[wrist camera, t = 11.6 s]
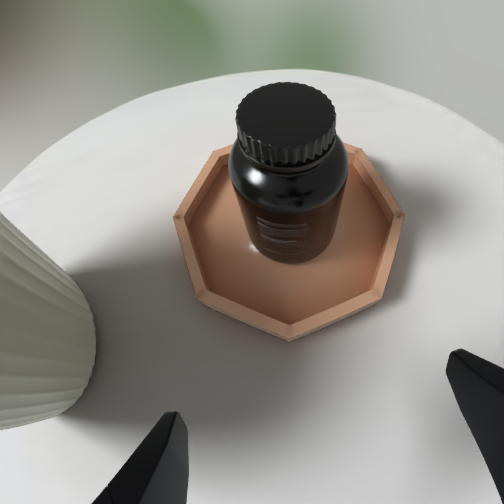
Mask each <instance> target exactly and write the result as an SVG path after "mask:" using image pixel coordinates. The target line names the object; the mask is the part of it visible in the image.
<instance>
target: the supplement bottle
mask: <svg viewBox="0 0 504 504" xmlns="http://www.w3.org/2000/svg"><path fill="white" fill-rule="evenodd" d="M235 120H236V125H237V130H238V133H237V139H236V140H235V142H234V144H233V146H232V148H231V151H230V155H229V161H228V168H229V174H230V178H231V181H232V185H233V188H234V191H235V194H236V197H237V201H238V204H239V207H240V210H241V213H242V216H243V220H244V223H245V226H246V229H247V232H248V235H249V238H250V240H251V242H252V243H253V245H254V246H255V248H256V249H257V250H258V251H259V252H260V253H261V254H262V255H264V256H265V257H267V258H269V259H271V260H273V261H275V262H279V263H283V264H299V263H304V262H307V261H310V260H312V259H314V258H315V257H317V256H319V255H320V254H321V253H322V252H323V251H324V250H325V249H326V248H327V247H328V245H329V244H330V242H331V240H332V238H333V236H334V232H335V229H336V225H337V221H338V217H339V213H340V208H341V204H342V200H343V195H344V191H345V186H346V181H347V177H348V169H349V160H348V154H347V151H346V148H345V146H344V144H343V142H342V140H341V139H340V137H339V136H338V135H337V134H336V129H335V127H336V112H335V107H334V106H333V105H332V102H331V100H330V99H328V98H327V95H325V94H323V93H322V92H321V91H320V90H317V89H315V88H314V87H311V86H307V85H306V84H299V83H291V82H284V83H282V82H278V83H275V84H268V85H266V86H261V87H260V88H258V89H255V90H253V91H252V92H251V93H249V94H247V96H246V97H245V98H243V99H242V102H241V103H240V104H239V105H238V109H237V111H236V119H235Z"/></svg>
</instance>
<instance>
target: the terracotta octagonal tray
mask: <svg viewBox="0 0 504 504" xmlns="http://www.w3.org/2000/svg"><path fill="white" fill-rule="evenodd" d="M343 144H344V146H345V148H346V151H347V154H348V160H349V169H348V177H347V181H346V186H345V191H344V195H343V200H342V204H341V208H340V213H339V217H338V221H337V225H336V229H335V232H334V236H333V238H332V240H331V242H330V244H329V245H328V247H327V248H326V249H325V250H324V251H323V252H322V253H321V254H320V255H319V256H317V257H315V258H314V259H312V260H310V261H307V262H304V263H299V264H283V263H279V262H275V261H273V260H271V259H269V258H267V257H265V256H264V255H262V254H261V253H260V252H259V251H258V250H257V249H256V248H255V246H254V245H253V243H252V242H251V240H250V238H249V235H248V232H247V229H246V226H245V223H244V220H243V216H242V213H241V210H240V207H239V204H238V201H237V197H236V194H235V191H234V188H233V185H232V181H231V178H230V174H229V168H228V161H229V155H230V151H231V148H232V146H233V144H232V145H229V146H227V147H224V148H221V149H219V150H216V151H213V153H212V154H211V156H210V157H209V159H208V160H207V162H206V164H205V165H204V167H203V168H202V170H201V172H200V173H199V175H198V176H197V178H196V180H195V181H194V183H193V185H192V186H191V188H190V189H189V191H188V193H187V194H186V196H185V198H184V199H183V201H182V203H181V205H180V206H179V208H178V210H177V211H176V213H175V215H174V216H173V219H174V223H175V226H176V230H177V233H178V237H179V240H180V244H181V247H182V251H183V254H184V257H185V261H186V264H187V267H188V271H189V274H190V277H191V280H192V284H193V287H194V290H195V293H196V296H197V297H196V298H197V299H198V300H199V301H201V302H202V303H203V304H204V305H205V306H208V307H210V308H212V309H214V310H217V311H219V312H221V313H223V314H225V315H228V316H230V317H232V318H234V319H237V320H239V321H241V322H243V323H246V324H248V325H250V326H252V327H255V328H257V329H259V330H262V331H264V332H266V333H269V334H271V335H274V336H276V337H278V338H281V339H283V340H286V341H288V342H291V341H293V340H296V339H298V338H300V337H303V336H305V335H308V334H310V333H312V332H315V331H317V330H320V329H322V328H324V327H327V326H329V325H331V324H333V323H336V322H338V321H340V320H342V319H345V318H347V317H349V316H351V315H353V314H356V313H358V312H360V311H362V310H364V309H366V308H368V307H371V306H373V305H375V304H376V303H377V302H378V301H379V300H380V299H381V298H382V295H383V292H384V289H385V286H386V282H387V279H388V276H389V272H390V269H391V265H392V262H393V258H394V255H395V251H396V247H397V244H398V240H399V236H400V232H401V228H402V224H403V220H404V216H405V214H404V213H403V211H402V210H401V208H400V206H399V205H398V203H397V202H396V200H395V198H394V197H393V195H392V193H391V192H390V190H389V189H388V187H387V186H386V184H385V183H384V181H383V179H382V178H381V176H380V175H379V173H378V172H377V170H376V169H375V167H374V166H373V165H372V163H371V162H370V160H369V159H368V157H367V156H366V154H365V153H364V152H363V150H362V149H360V148H357V147H354V146H351V145H348V144H345V143H343Z"/></svg>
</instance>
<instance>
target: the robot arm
mask: <svg viewBox="0 0 504 504" xmlns="http://www.w3.org/2000/svg"><path fill="white" fill-rule="evenodd" d="M446 375H447V378H448V380H449V382H450V385H451V387H452V390H453V392H454V395H455V398H456V400H457V403H458V405H459V408H460V410H461V412H462V414H463V416H464V418H465V420H466V422H467V424H468V426H469V428H470V430H471V432H472V434H473V436H474V438H475V440H476V442H477V445H478V447H479V449H480V451H481V453H482V455H483V457H484V460H485V462H486V464H487V466H488V469H489V471H490V473H491V476H492V478H493V480H494V483H495V485H496V488H497V490H498V492H499V495H500V497H501V500H502V503H503V504H504V369H503V368H501V367H499V366H497V365H495V364H493V363H491V362H489V361H487V360H485V359H483V358H480V357H478V356H476V355H474V354H472V353H470V352H468V351H466V350H464V349H457V350H455V351H452V352H451V353H450V355H449V359H448V363H447V367H446ZM188 478H189V458H188V431H187V427H186V425H185V423H184V421H183V419H182V417H181V416H180V414H179V413H178V412H176V411H175V412H166V413H164V414H163V416H162V417H161V418H160V420H159V421H158V422H157V423H156V425H155V426H154V427H153V429H152V430H151V431H150V432H149V434H148V435H147V436H146V438H145V439H144V440H143V441H142V443H141V444H140V445H139V446H138V448H137V449H136V450H135V451H134V453H133V454H132V455H131V456H130V458H129V459H128V460H127V461H126V463H125V464H124V465H123V466H122V468H121V469H120V470H119V471H118V473H117V474H116V475H115V476H114V478H113V479H112V480H111V481H110V483H109V484H108V487H107V486H106V487H105V489H104V490H103V491H102V492H101V493H100V495H99V496H98V497H97V498H96V499H95V500H94V501H93V503H92V504H186V501H187V489H188Z"/></svg>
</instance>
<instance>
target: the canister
mask: <svg viewBox="0 0 504 504" xmlns="http://www.w3.org/2000/svg"><path fill="white" fill-rule="evenodd" d="M95 330H96V327H95V325H94V322H93V315H92V313H91V311H90V306H89V303H88V302H87V300H86V299H85V296H84V294H83V292H82V291H81V290H80V288H79V287H78V285H77V284H76V282H75V281H74V280H73V279H72V278H71V277H70V276H69V275H68V274H67V273H66V272H65V271H64V270H63V269H62V268H61V267H60V266H58V265H57V264H56V263H55V262H54V261H53V260H52V259H51V258H49V257H48V256H47V255H46V254H45V253H44V252H43V251H42V250H41V249H40V248H38V247H37V246H36V245H35V244H34V243H33V242H32V241H31V240H30V239H28V238H27V237H26V236H25V235H24V234H23V233H22V232H21V231H20V230H18V229H17V228H16V227H15V226H14V225H13V224H12V223H11V222H10V221H9V220H8V219H7V218H6V217H5V216H4V215H3V214H2V213H1V212H0V430H4V429H9V428H14V427H18V426H23V425H27V424H31V423H34V422H38V421H42V420H45V419H49V418H52V417H54V416H56V415H58V414H60V413H62V412H65V411H66V410H67V409H68V408H69V407H70V406H72V405H73V404H75V402H76V401H77V399H78V398H79V397H80V396H81V395H82V394H83V391H84V389H85V388H86V387H87V386H88V381H89V379H90V377H91V376H92V369H93V366H94V364H95V354H96V352H97V351H96V341H97V339H96V336H95Z"/></svg>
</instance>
